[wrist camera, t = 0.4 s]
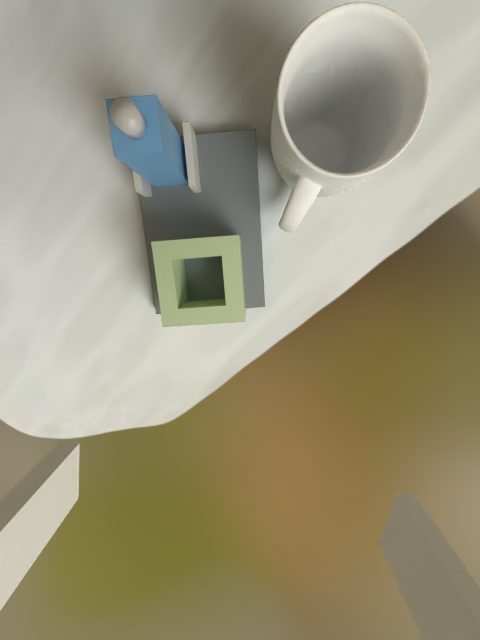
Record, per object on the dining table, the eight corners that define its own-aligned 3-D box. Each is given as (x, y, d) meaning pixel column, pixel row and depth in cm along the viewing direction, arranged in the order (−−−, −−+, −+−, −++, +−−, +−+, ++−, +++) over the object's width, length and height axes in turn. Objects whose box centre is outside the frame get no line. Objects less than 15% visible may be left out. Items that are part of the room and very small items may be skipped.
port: (166, 244, 33) (151, 241, 28) (240, 238, 33) (238, 234, 28) (175, 316, 35) (162, 327, 30) (245, 311, 35) (245, 321, 30)
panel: (136, 146, 33) (119, 128, 28) (255, 134, 32) (256, 115, 28) (159, 311, 37) (147, 318, 33) (264, 304, 36) (266, 311, 32)
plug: (150, 149, 31) (91, 83, 20) (185, 145, 31) (146, 78, 19) (155, 187, 32) (101, 146, 20) (189, 184, 32) (154, 141, 20)
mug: (318, 253, 35) (359, 250, 22) (238, 217, 34) (231, 194, 21) (377, 129, 31) (464, 41, 19) (289, 87, 31) (317, -33, 18)
